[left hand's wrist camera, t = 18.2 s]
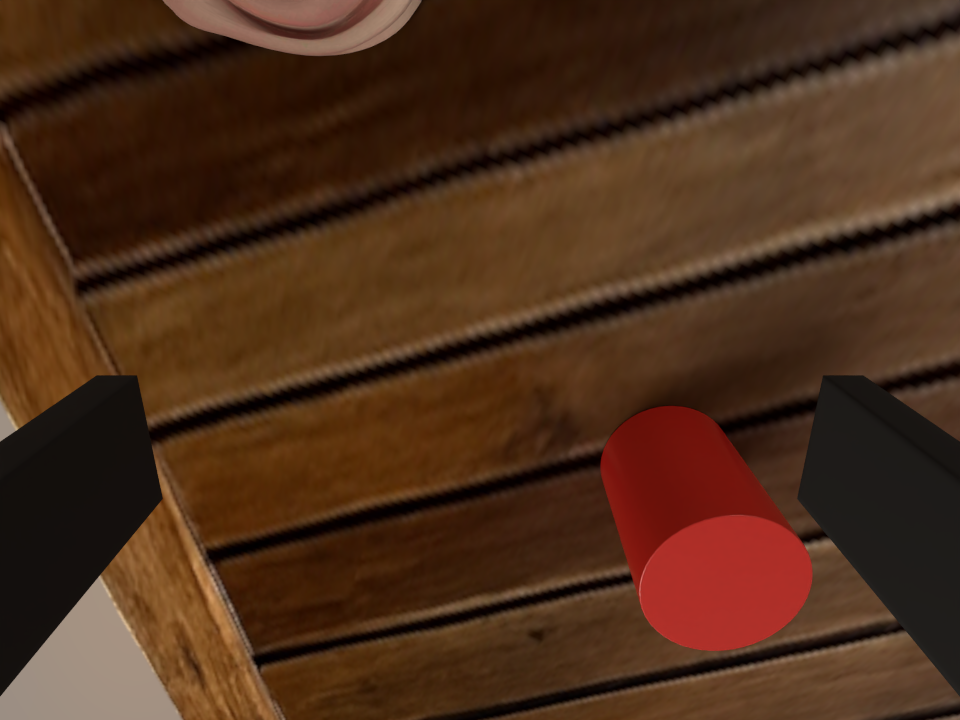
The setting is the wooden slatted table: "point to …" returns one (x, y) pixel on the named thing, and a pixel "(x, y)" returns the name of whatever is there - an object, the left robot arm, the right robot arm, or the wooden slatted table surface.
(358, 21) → the anatomical model
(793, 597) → the cylinder
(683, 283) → the wooden slatted table surface
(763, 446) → the wooden slatted table surface
